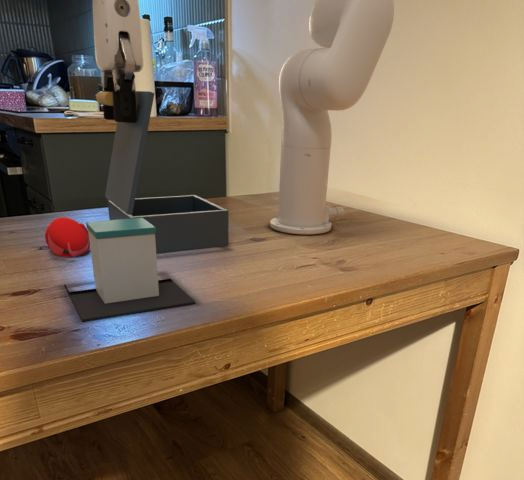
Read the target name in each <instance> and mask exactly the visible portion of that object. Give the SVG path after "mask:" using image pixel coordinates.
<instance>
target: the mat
mask: <svg viewBox="0 0 524 480" xmlns="http://www.w3.org/2000/svg"><path fill="white" fill-rule="evenodd" d="M158 286H159V296H154V297H148V298H141V299H134V300H127V301H120V302H114V303H107V304H105V303H104V301H103V300H102V298H101V297H100V295H99V294H98V292H97V291H96V288H90V289H89V288H88V289H82V290H75V291H70V290H69V289H68V287H67V285H66V284H63V287H64V289H65V290H66V292H67V295H68V297H69V298H70V300H71V302H72V305H73V306H74V308H75V310H76V312H77V314H78V316H79V318H80V320H81V322H82V323H83V322H89V321H96V320H103V319H109V318H114V317H115V318H116V317H120V316H121V317H122V316H127V315H133V314H139V313H146V312H151V311H157V310H158V311H159V310H165V309H171V308H178V307H183V306H189V305H196V300H194V299H193V298H192V297H191V296H190V295H189V294H188V293H187V292H186V291H185V290H183V288H181V287H180V286H179V285H178V284H177V283H176V282H175V281H174V280H173V279H172V278H165V279H158Z"/></svg>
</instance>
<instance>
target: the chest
mask: <svg viewBox="0 0 524 480" xmlns="http://www.w3.org/2000/svg"><path fill="white" fill-rule="evenodd" d="M106 200H107V208H108V209H107V210H108V220H119V219H132V218H143V219H145V220H146V221H148V222H149V223H150V224H152V225H153V226H154V227H156V234H155V242H156V255H157V254H167V253H177V252H185V251H186V252H187V251H194V250H195V251H196V250H203V249H213V248H223V247H228V246H229V209H226V208H224V207H222V206H220V205H218V204H216V203H214V202H212V201H209V200H207V199H205V198H202V197H200V196H199V195H197V194H190V195H189V194H187V195H171V196H156V197H154V196H153V197H139V198H137V197H135V202H134V207H133V213H132V215H128V214H126V213H125V212H124V211H122V210H121V209H120V208H119V207H117V206H116V205H115V204H113V203H112V202H111V201H110V200H108V199H106Z"/></svg>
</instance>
